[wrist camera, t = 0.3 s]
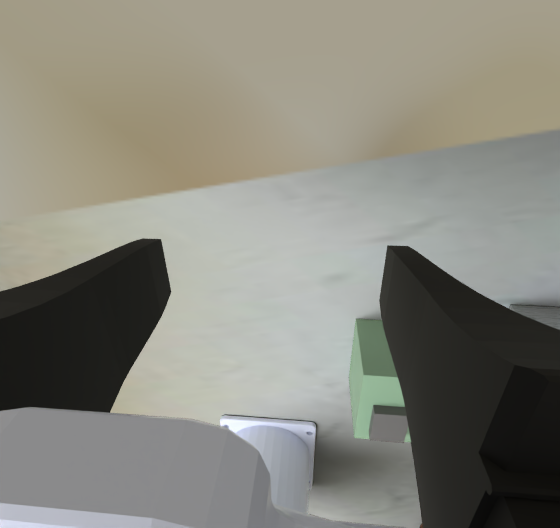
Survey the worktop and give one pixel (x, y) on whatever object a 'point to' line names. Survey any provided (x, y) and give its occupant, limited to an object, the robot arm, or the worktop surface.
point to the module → (375, 387)
